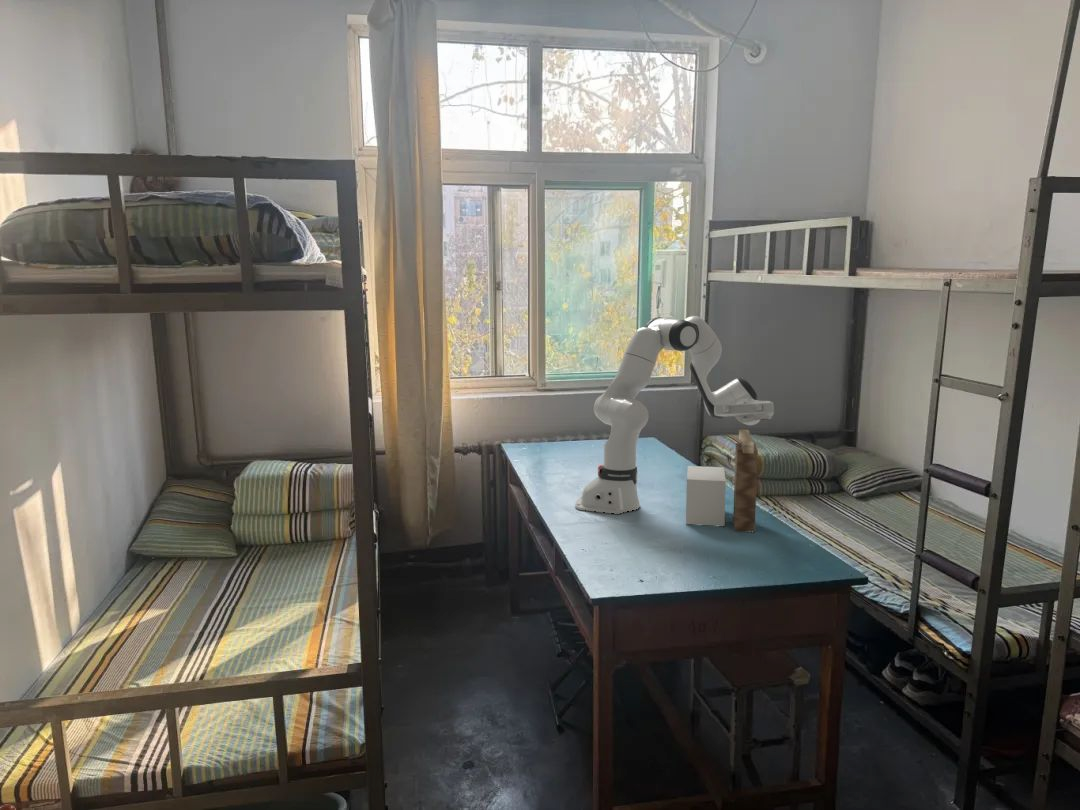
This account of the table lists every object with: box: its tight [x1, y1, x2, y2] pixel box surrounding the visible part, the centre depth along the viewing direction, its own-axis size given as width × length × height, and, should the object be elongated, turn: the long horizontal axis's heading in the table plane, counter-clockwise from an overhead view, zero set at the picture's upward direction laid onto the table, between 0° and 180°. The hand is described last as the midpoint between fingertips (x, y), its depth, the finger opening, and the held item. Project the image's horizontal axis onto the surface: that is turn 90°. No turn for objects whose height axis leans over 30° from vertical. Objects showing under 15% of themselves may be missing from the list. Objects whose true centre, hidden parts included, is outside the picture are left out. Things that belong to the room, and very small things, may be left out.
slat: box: [738, 429, 755, 453], centre depth 230 cm, size 3×24×2 cm, turn 168°
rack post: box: [732, 442, 759, 533], centre depth 229 cm, size 6×10×26 cm, turn 168°
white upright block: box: [685, 465, 727, 527], centre depth 240 cm, size 12×18×15 cm, turn 168°
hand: (741, 407), depth 249 cm, fingers open, 8 cm apart
